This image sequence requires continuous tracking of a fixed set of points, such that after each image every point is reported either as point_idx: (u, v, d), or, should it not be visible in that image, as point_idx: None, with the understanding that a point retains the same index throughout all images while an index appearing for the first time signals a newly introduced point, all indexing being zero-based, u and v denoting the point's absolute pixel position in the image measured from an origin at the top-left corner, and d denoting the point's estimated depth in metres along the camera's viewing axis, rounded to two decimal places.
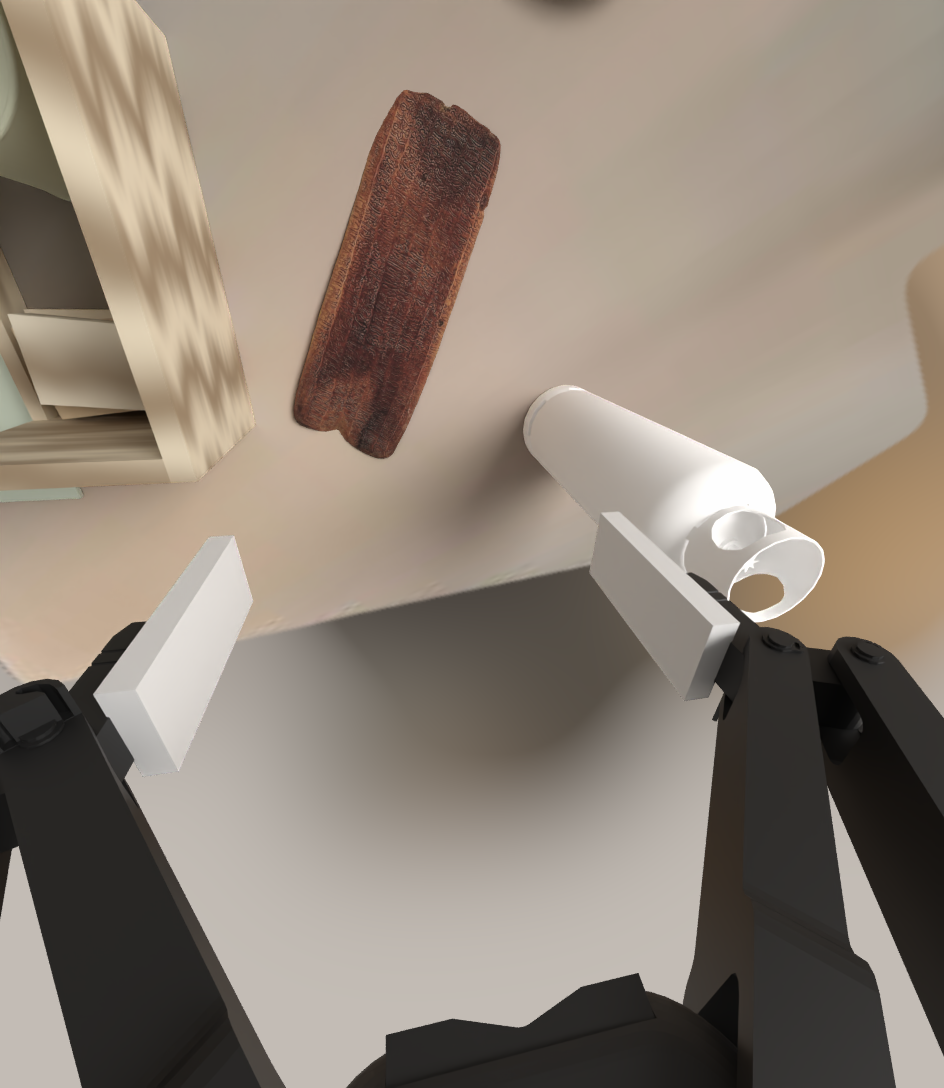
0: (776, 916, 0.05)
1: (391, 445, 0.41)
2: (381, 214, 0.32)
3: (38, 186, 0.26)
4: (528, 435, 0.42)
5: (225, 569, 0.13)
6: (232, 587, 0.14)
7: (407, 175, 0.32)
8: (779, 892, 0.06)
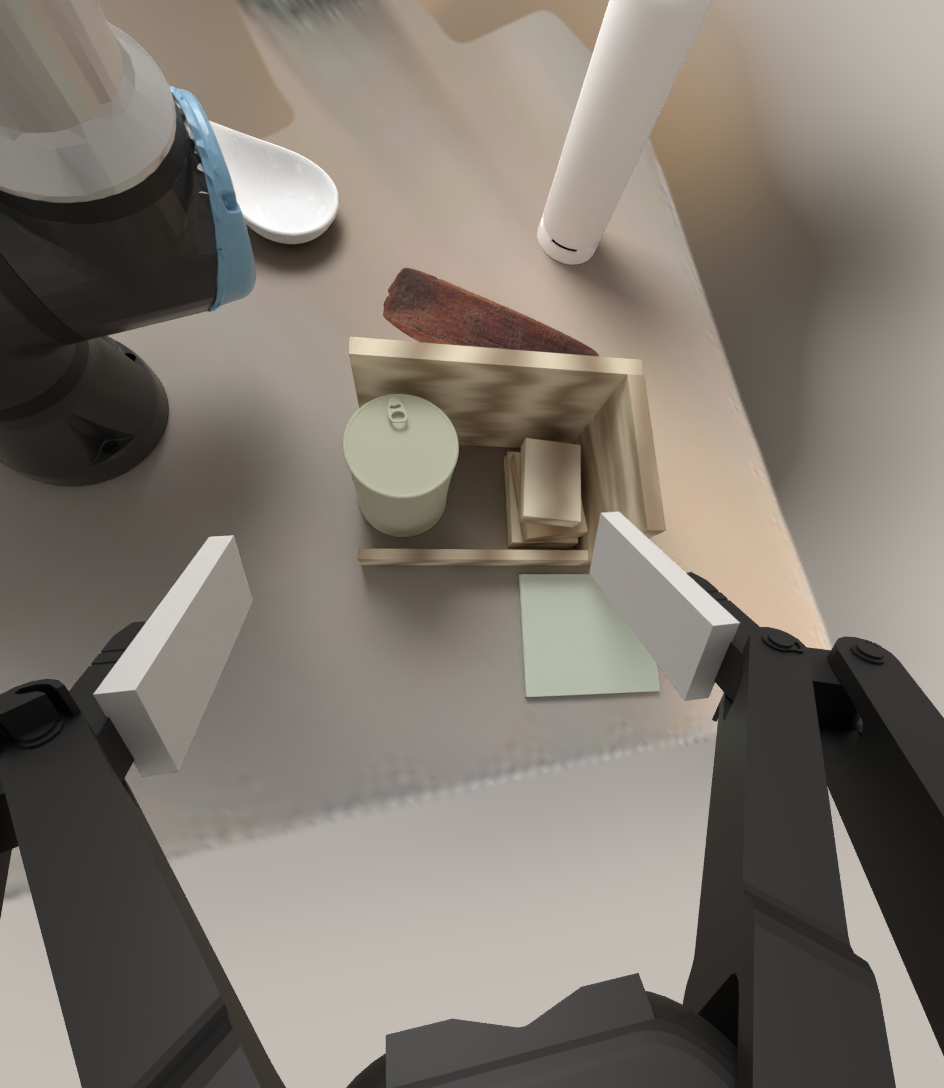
0: (776, 917, 0.05)
1: (589, 349, 0.52)
2: (444, 332, 0.50)
3: None
4: (576, 252, 0.54)
5: (225, 569, 0.13)
6: (232, 587, 0.14)
7: (423, 316, 0.50)
8: (779, 892, 0.06)
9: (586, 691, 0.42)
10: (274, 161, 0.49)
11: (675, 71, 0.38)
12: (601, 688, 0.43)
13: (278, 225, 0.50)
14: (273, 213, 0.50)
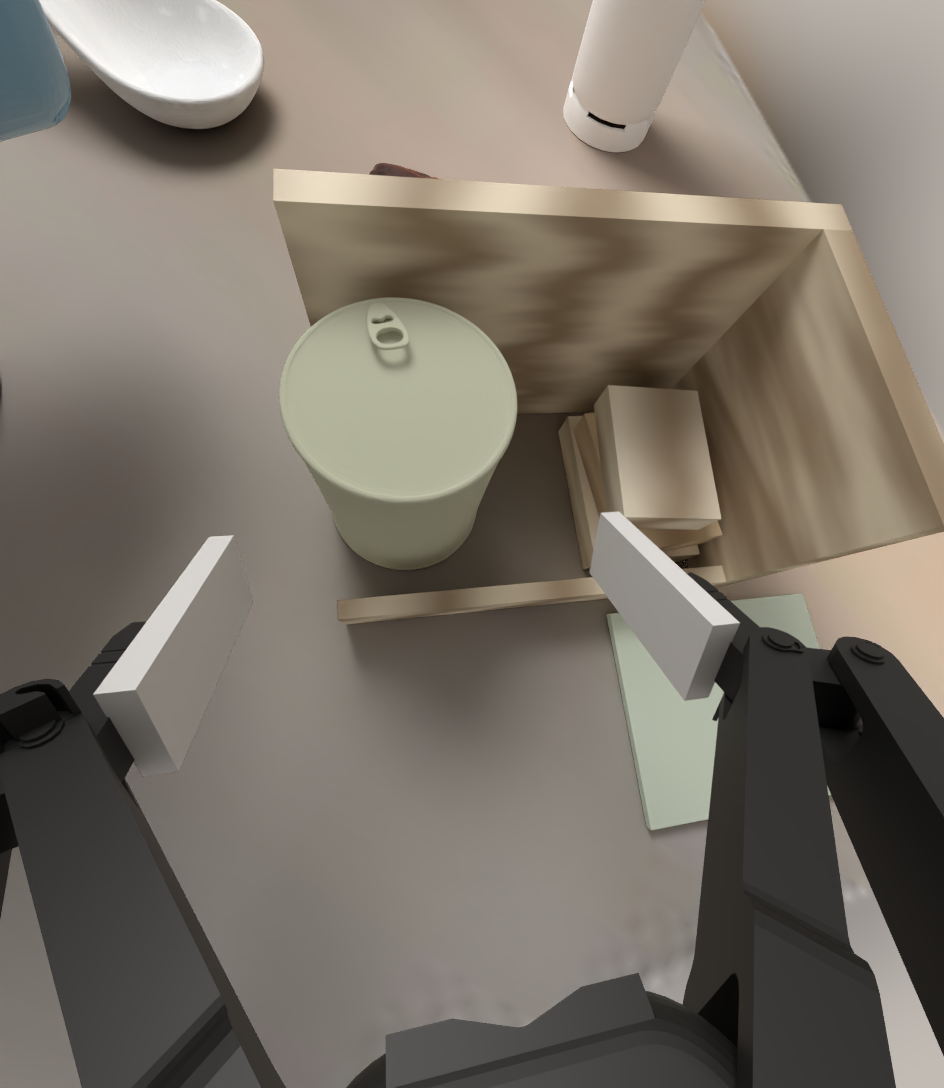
0: (775, 915, 0.05)
1: None
2: None
3: None
4: (625, 128, 0.37)
5: (225, 569, 0.13)
6: (232, 587, 0.14)
7: None
8: (778, 892, 0.06)
9: None
10: (162, 3, 0.32)
11: None
12: None
13: None
14: (165, 86, 0.33)
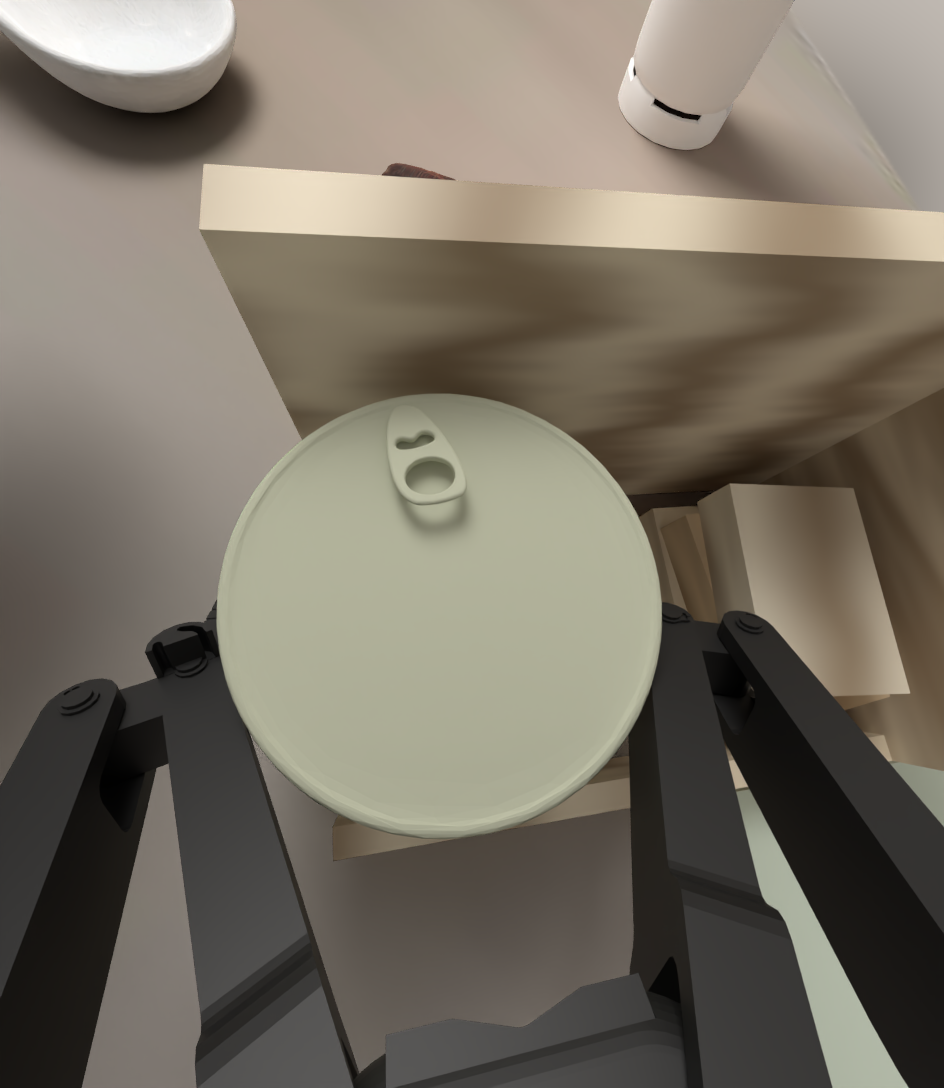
0: (699, 889, 0.06)
1: None
2: None
3: None
4: (700, 120, 0.30)
5: None
6: None
7: None
8: (699, 862, 0.06)
9: None
10: None
11: None
12: None
13: None
14: (109, 57, 0.25)
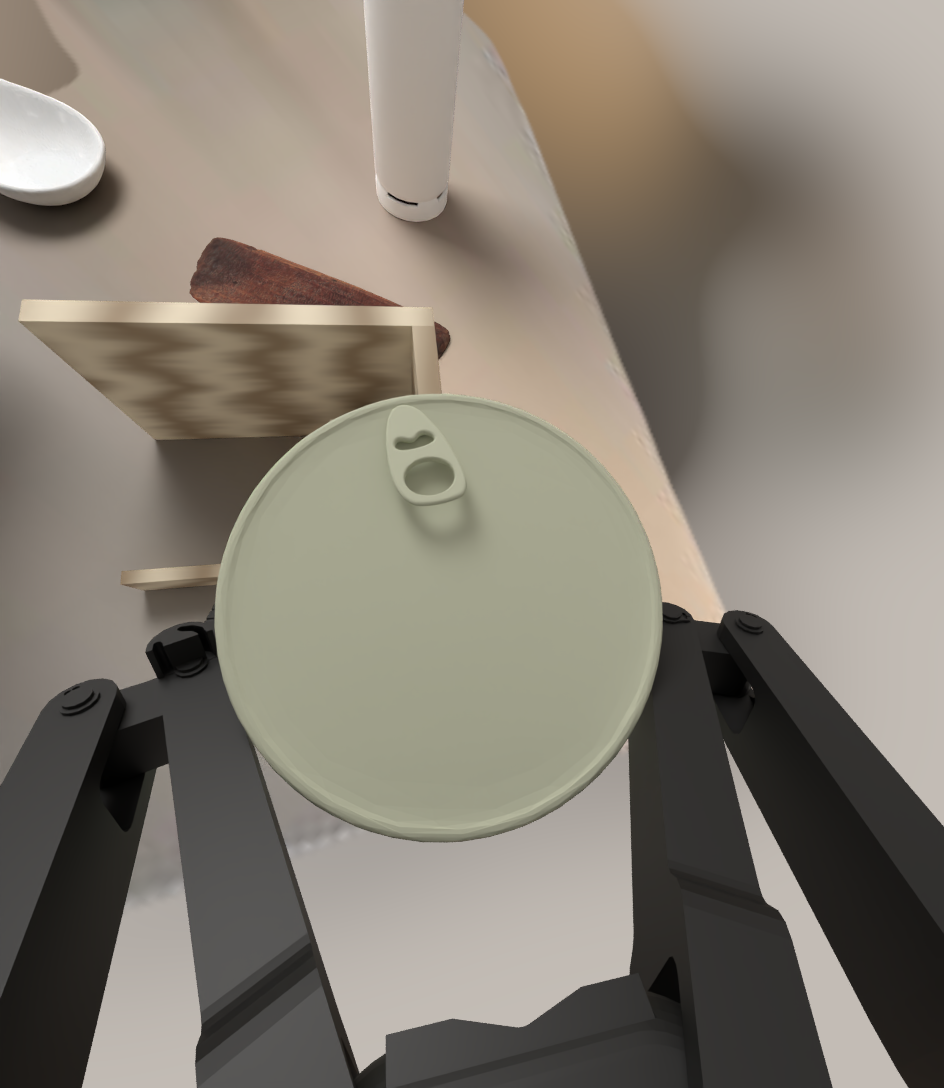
0: (700, 890, 0.06)
1: (436, 325, 0.45)
2: None
3: None
4: (418, 205, 0.47)
5: None
6: None
7: (233, 292, 0.43)
8: (699, 861, 0.06)
9: None
10: (29, 108, 0.42)
11: None
12: None
13: (33, 183, 0.42)
14: (30, 170, 0.42)
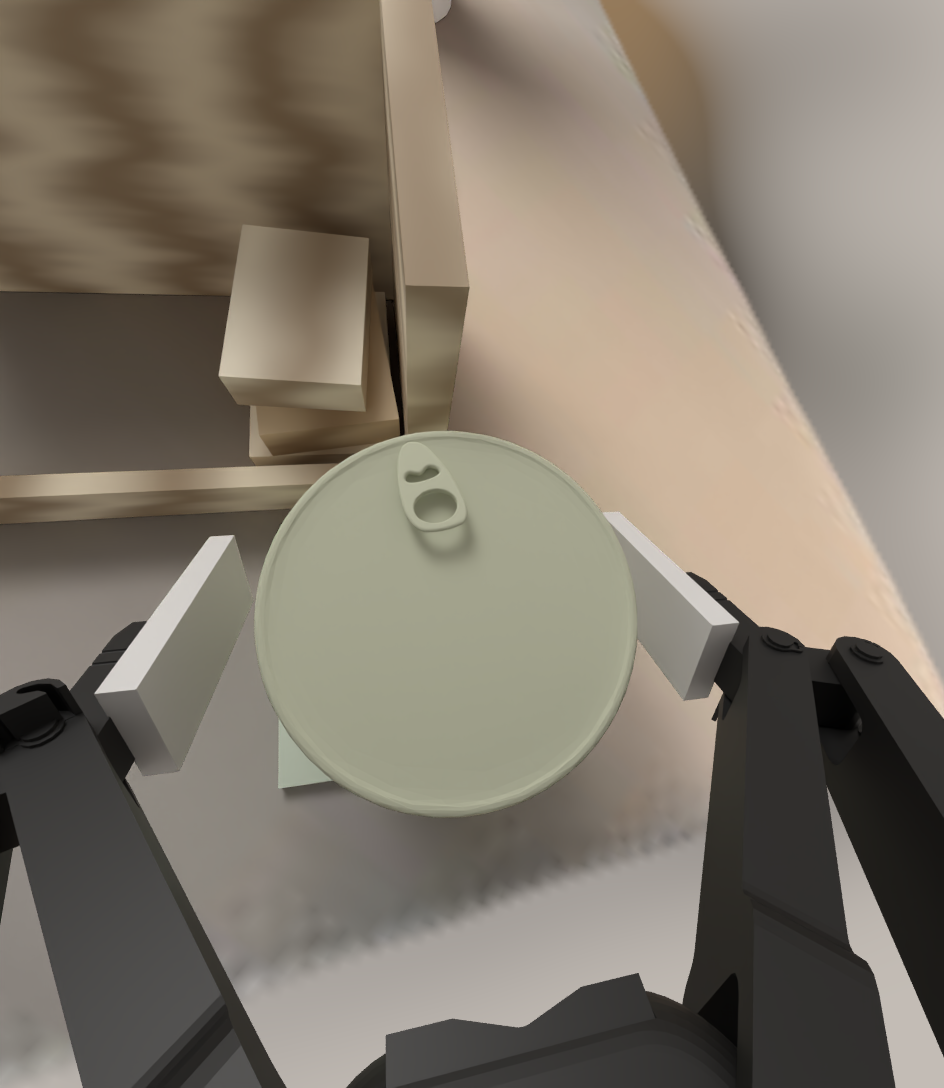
0: (776, 916, 0.05)
1: None
2: None
3: None
4: None
5: (226, 569, 0.13)
6: (232, 587, 0.14)
7: None
8: (778, 892, 0.06)
9: None
10: None
11: None
12: None
13: None
14: None
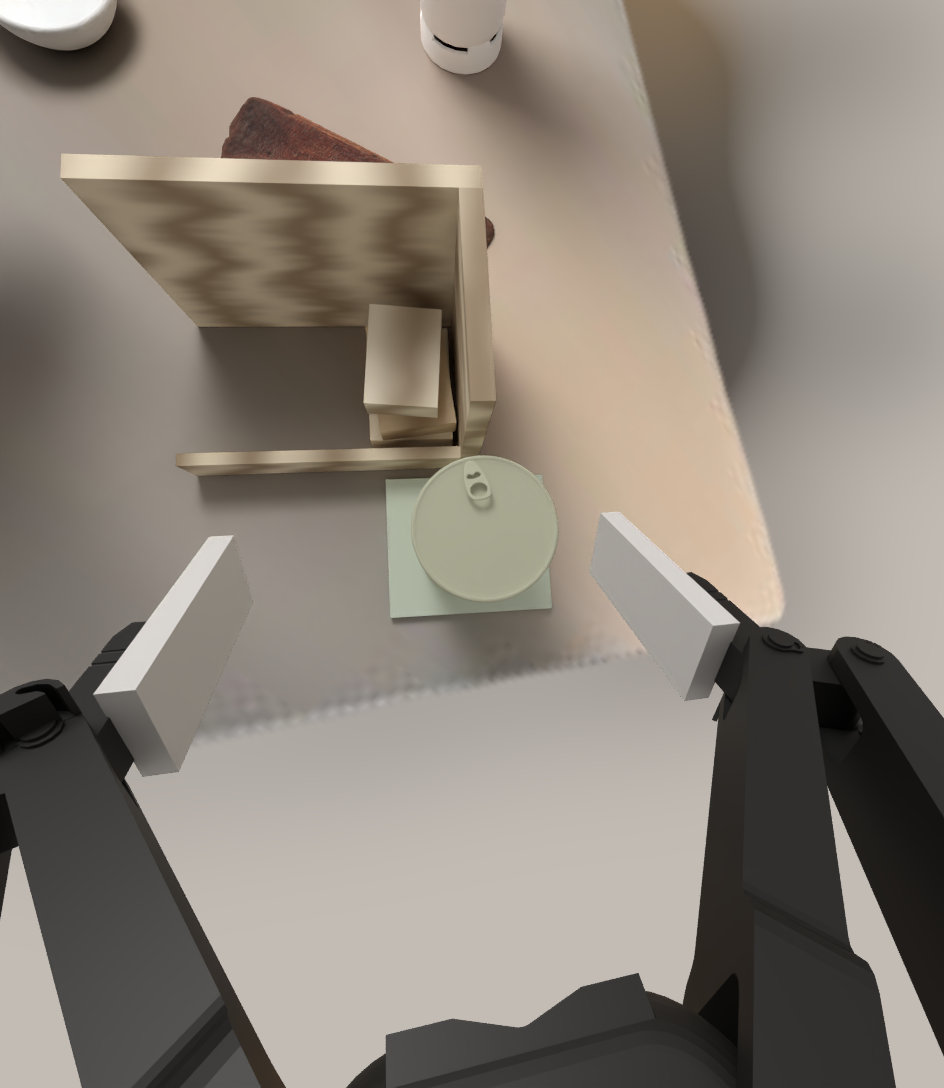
0: (775, 916, 0.05)
1: None
2: None
3: None
4: (467, 51, 0.41)
5: (225, 570, 0.13)
6: (232, 587, 0.14)
7: None
8: (778, 892, 0.06)
9: (462, 610, 0.37)
10: None
11: None
12: (480, 606, 0.37)
13: (45, 21, 0.39)
14: (42, 4, 0.39)
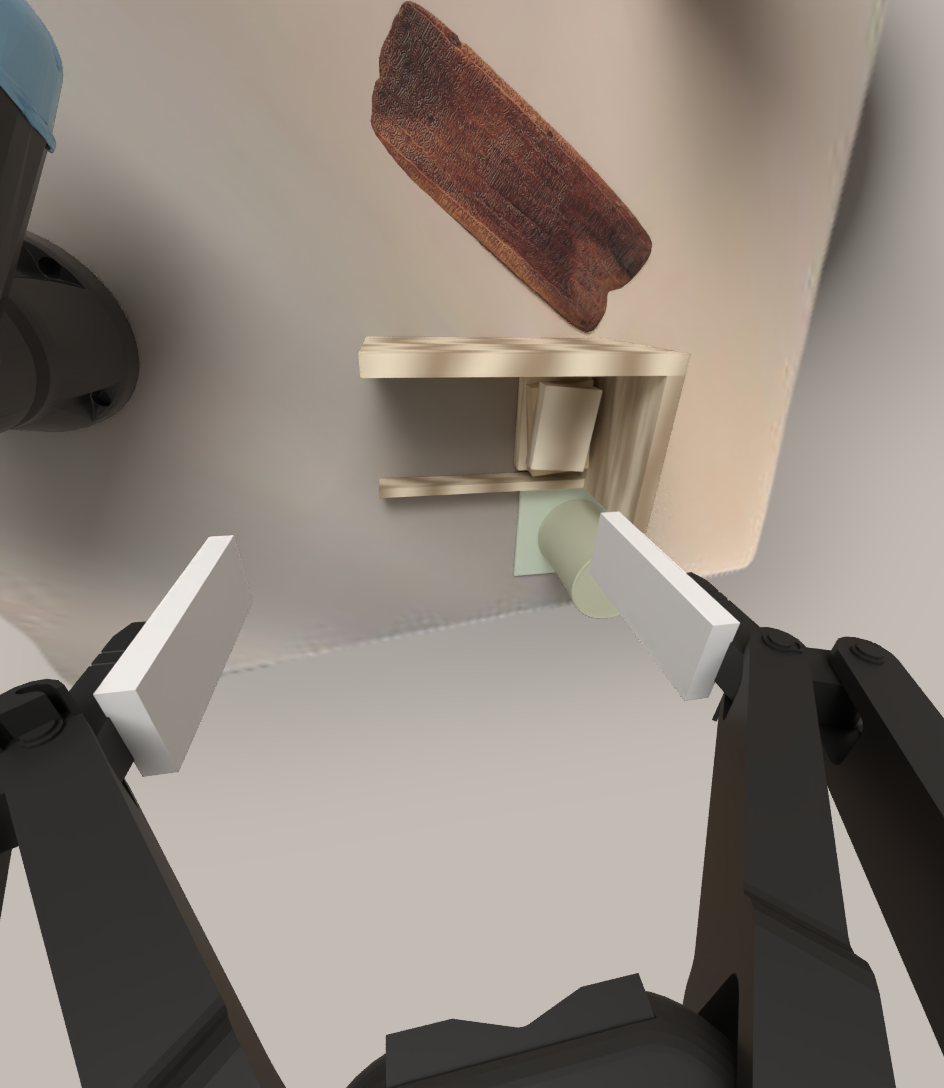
0: (776, 916, 0.05)
1: (643, 236, 0.39)
2: (454, 179, 0.35)
3: None
4: None
5: (225, 570, 0.13)
6: (232, 587, 0.14)
7: (428, 138, 0.34)
8: (778, 892, 0.06)
9: None
10: None
11: None
12: None
13: None
14: None
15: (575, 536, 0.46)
